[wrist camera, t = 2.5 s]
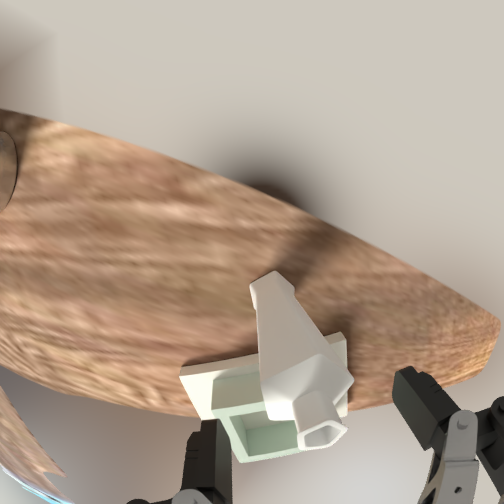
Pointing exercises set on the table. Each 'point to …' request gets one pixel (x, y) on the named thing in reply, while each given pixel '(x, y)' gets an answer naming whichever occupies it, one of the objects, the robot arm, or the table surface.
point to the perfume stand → (247, 404)
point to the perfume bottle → (297, 365)
